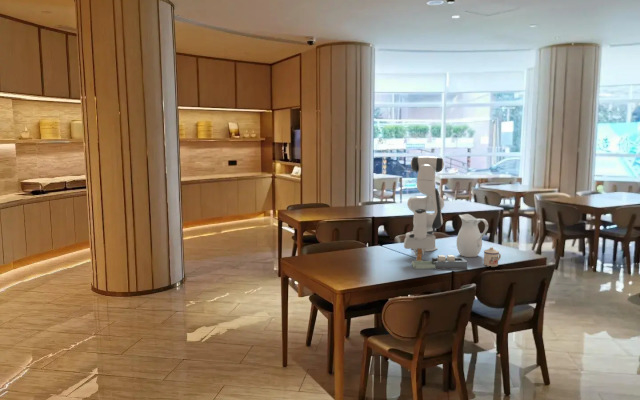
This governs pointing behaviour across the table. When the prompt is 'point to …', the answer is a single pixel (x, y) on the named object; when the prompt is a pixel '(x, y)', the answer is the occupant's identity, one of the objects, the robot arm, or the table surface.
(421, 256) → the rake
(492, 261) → the teacup with lid
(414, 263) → the tray
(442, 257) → the cream block
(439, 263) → the grooved board
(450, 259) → the cream block
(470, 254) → the pitcher
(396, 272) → the table surface
